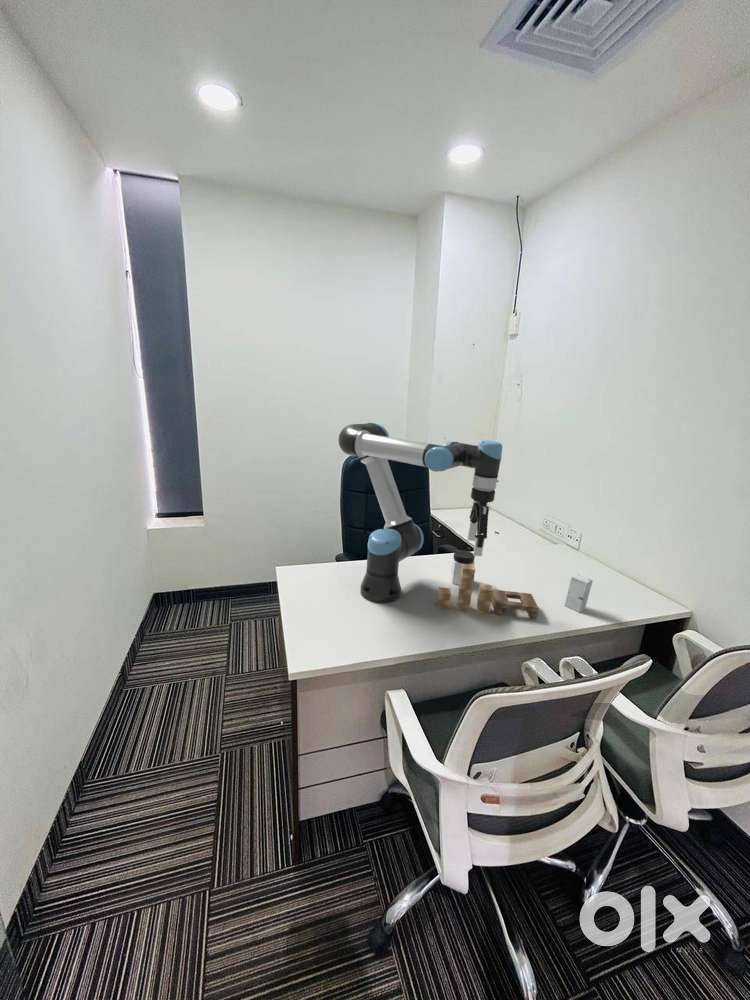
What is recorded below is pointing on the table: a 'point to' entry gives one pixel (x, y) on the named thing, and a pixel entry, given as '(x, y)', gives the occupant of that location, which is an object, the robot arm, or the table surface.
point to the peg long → (465, 587)
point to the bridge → (502, 601)
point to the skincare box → (578, 592)
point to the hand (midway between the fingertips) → (474, 547)
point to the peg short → (444, 598)
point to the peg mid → (484, 598)
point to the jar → (460, 564)
